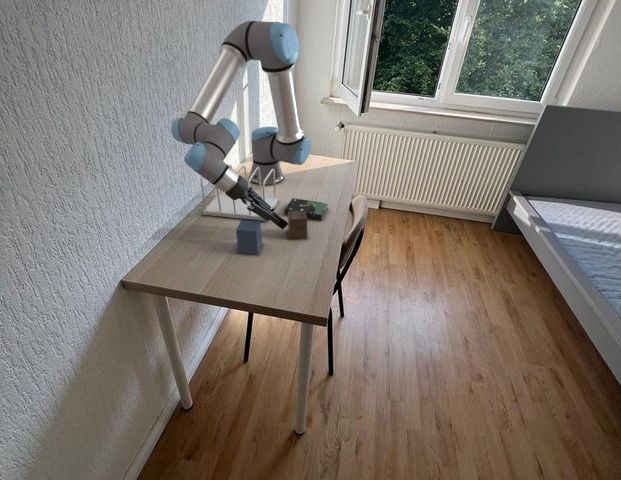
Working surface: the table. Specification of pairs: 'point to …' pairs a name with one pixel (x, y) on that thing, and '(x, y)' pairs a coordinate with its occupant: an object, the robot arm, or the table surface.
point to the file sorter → (237, 201)
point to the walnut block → (297, 225)
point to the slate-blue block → (249, 237)
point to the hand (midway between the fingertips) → (284, 226)
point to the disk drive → (307, 208)
